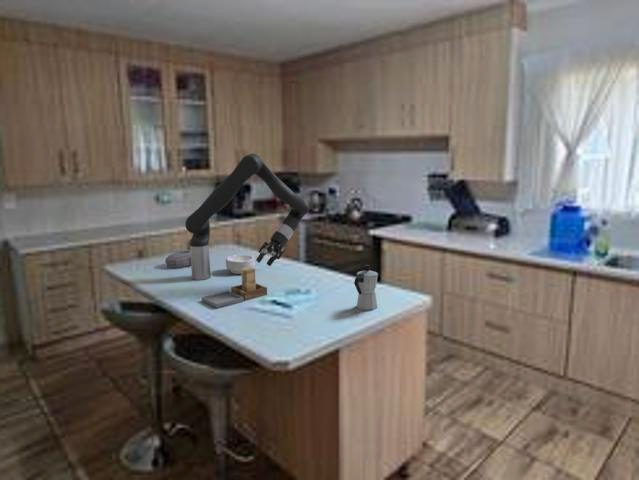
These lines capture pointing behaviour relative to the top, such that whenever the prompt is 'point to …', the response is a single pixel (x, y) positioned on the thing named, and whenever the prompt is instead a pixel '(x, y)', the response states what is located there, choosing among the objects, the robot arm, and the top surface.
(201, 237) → the robot arm
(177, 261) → the grey rounded bag
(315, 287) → the top surface
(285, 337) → the top surface
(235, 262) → the paper bowls
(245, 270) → the oak peg
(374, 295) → the coffee maker
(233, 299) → the tray
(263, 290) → the square wooden frame
